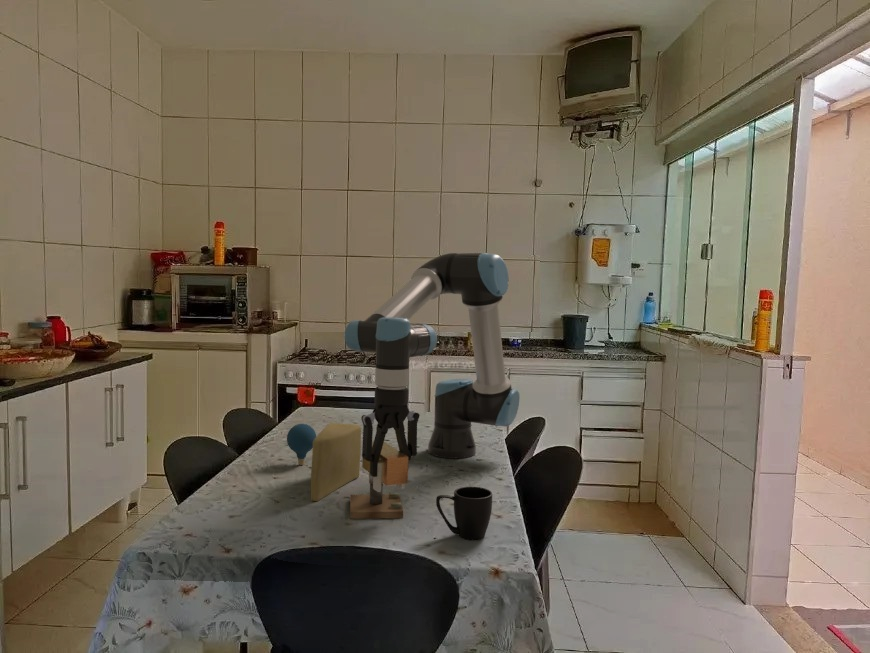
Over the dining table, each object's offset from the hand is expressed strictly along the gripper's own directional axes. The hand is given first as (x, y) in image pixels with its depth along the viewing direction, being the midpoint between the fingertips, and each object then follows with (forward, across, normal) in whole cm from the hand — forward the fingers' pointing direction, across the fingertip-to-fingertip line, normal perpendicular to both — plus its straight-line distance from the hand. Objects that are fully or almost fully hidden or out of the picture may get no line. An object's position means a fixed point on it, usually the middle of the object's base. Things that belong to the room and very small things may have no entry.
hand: (388, 488), depth 148 cm
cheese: (+8, +4, -27) cm, 28 cm away
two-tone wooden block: (+1, 0, -3) cm, 3 cm away
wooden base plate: (+7, 0, -7) cm, 10 cm away
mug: (+7, -11, +15) cm, 20 cm away
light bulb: (+7, +4, -49) cm, 50 cm away
